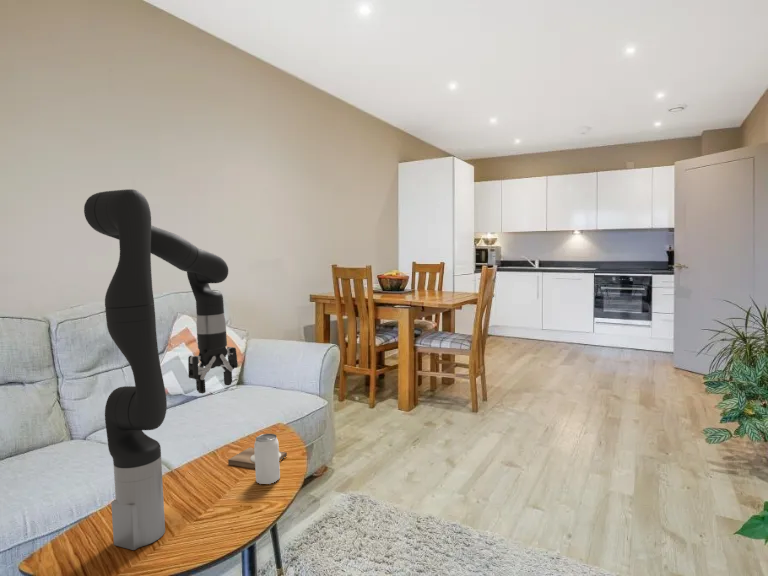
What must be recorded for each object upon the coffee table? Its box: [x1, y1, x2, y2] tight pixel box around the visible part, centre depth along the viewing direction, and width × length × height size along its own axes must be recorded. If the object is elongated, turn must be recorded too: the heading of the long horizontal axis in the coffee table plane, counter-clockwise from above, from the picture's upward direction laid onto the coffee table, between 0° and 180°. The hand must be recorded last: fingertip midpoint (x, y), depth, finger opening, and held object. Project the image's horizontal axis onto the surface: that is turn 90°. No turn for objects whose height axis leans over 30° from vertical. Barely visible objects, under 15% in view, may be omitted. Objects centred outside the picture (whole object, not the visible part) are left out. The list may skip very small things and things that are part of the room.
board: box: [227, 447, 288, 469], centre depth 142 cm, size 10×14×2 cm
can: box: [253, 433, 281, 485], centre depth 128 cm, size 6×6×12 cm
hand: (215, 388), depth 129 cm, fingers open, 8 cm apart
